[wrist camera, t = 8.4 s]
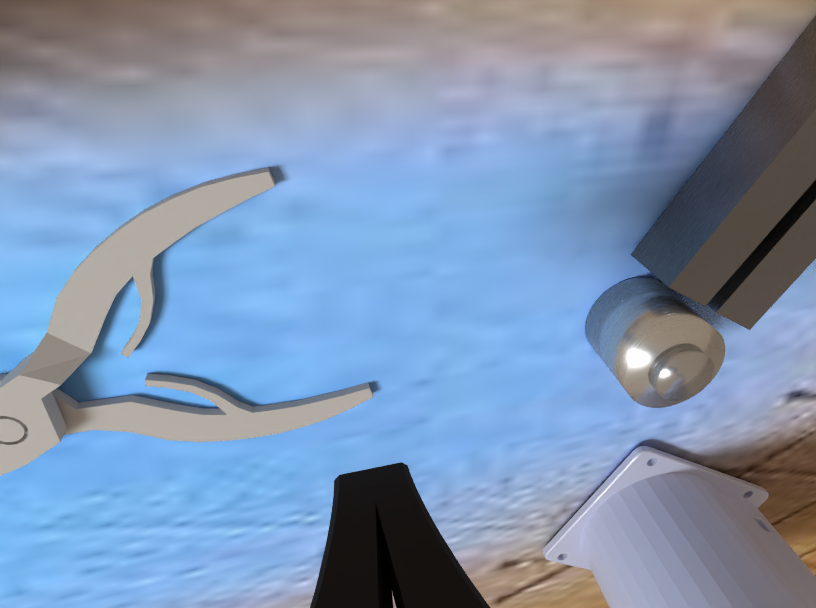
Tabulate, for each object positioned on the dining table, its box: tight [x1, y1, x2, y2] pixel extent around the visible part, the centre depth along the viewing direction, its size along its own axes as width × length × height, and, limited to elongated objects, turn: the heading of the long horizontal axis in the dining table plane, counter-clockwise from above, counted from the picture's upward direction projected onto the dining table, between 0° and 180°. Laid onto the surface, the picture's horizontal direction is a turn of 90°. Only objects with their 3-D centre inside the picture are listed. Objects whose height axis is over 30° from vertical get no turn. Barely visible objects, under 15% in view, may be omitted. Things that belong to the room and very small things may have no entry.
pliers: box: [0, 168, 373, 476], centre depth 19 cm, size 10×2×15 cm
